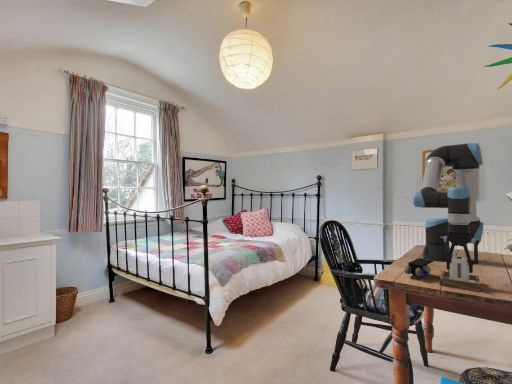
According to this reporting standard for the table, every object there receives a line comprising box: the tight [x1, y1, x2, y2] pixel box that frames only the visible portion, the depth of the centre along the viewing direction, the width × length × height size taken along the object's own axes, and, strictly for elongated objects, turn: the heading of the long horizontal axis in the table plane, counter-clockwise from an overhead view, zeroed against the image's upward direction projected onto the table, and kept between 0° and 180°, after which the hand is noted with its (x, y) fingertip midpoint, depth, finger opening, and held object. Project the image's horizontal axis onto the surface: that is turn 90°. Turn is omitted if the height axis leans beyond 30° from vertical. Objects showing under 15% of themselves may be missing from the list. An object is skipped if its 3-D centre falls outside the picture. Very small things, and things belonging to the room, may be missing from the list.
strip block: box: [451, 256, 468, 282], centre depth 116 cm, size 5×5×10 cm
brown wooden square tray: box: [439, 270, 481, 293], centre depth 116 cm, size 13×13×3 cm
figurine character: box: [404, 257, 434, 281], centre depth 127 cm, size 7×8×15 cm
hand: (459, 278), depth 116 cm, fingers closed on strip block, 5 cm apart
